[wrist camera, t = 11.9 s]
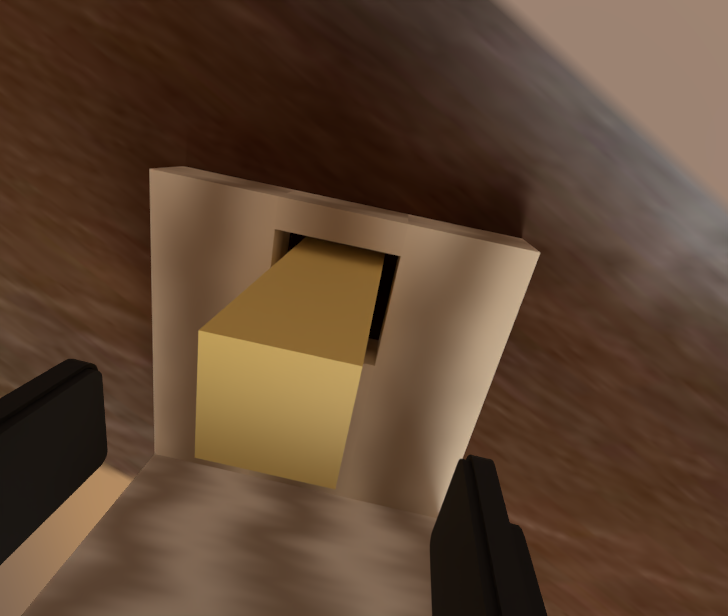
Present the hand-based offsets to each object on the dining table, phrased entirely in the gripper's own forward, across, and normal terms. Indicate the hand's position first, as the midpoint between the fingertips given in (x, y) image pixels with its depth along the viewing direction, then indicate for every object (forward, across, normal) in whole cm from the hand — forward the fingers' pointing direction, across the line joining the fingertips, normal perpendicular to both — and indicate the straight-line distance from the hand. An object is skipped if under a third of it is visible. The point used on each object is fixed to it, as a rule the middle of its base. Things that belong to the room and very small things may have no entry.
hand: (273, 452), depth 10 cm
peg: (+13, +1, 0) cm, 13 cm away
